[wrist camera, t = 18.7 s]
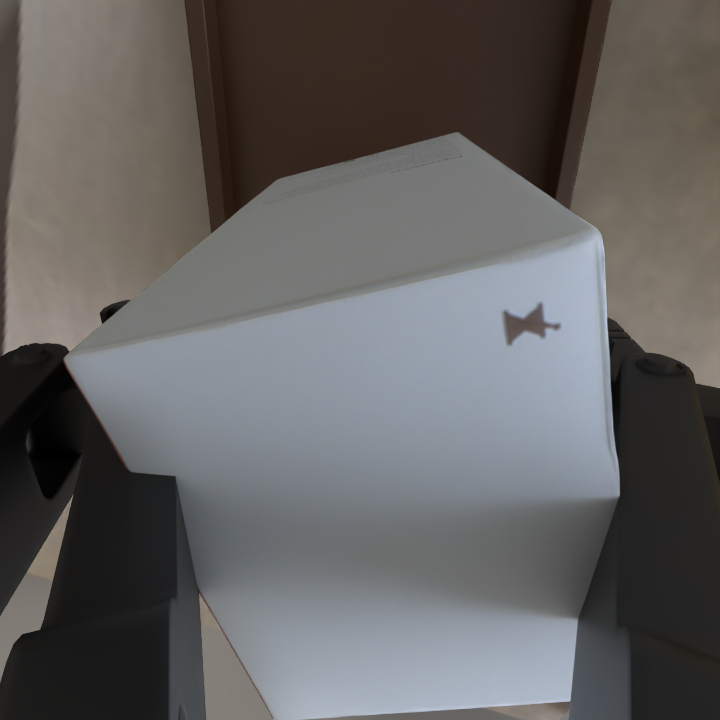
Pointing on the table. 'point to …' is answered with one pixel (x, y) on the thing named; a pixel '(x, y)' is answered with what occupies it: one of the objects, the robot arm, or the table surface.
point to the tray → (389, 85)
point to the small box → (380, 430)
